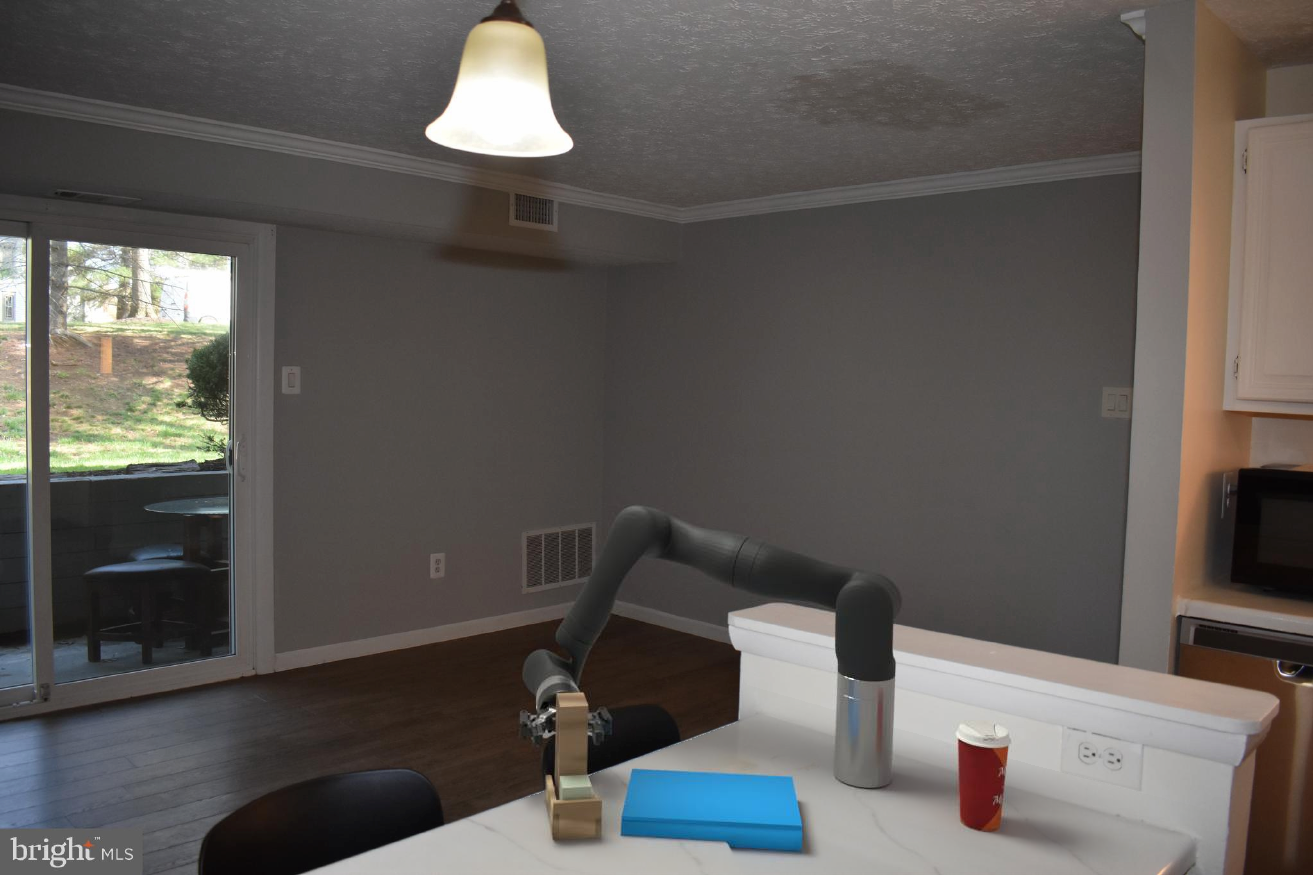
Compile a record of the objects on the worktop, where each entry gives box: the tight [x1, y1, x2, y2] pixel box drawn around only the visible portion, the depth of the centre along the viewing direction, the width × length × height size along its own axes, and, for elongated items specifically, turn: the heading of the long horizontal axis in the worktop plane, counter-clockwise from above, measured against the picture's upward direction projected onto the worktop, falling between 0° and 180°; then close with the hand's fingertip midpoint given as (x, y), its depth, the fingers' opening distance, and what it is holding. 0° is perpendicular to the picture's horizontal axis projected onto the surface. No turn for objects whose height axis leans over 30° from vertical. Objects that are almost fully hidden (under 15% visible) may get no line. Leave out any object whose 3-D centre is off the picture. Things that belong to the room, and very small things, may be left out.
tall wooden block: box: [554, 691, 589, 800], centre depth 135 cm, size 6×4×16 cm, turn 11°
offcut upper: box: [559, 774, 592, 800], centre depth 129 cm, size 4×4×3 cm
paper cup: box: [955, 720, 1012, 832], centre depth 135 cm, size 8×8×14 cm
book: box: [620, 768, 803, 852], centre depth 134 cm, size 17×4×25 cm
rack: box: [544, 774, 603, 841], centre depth 132 cm, size 13×7×6 cm, turn 11°
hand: (569, 740), depth 137 cm, fingers open, 8 cm apart
